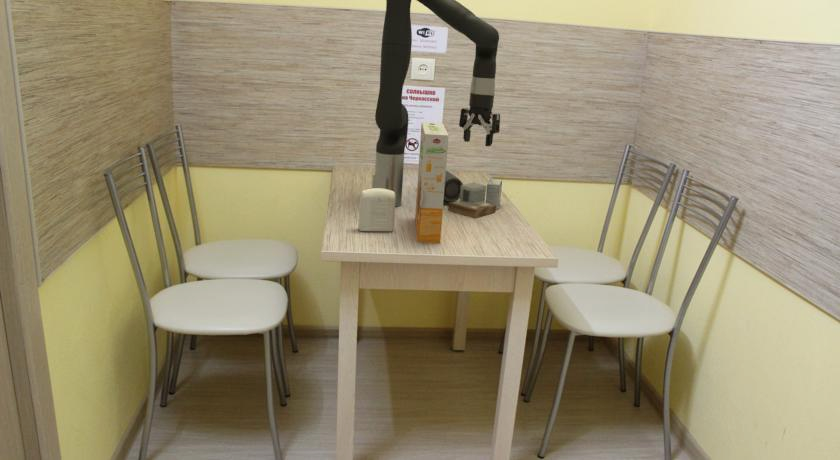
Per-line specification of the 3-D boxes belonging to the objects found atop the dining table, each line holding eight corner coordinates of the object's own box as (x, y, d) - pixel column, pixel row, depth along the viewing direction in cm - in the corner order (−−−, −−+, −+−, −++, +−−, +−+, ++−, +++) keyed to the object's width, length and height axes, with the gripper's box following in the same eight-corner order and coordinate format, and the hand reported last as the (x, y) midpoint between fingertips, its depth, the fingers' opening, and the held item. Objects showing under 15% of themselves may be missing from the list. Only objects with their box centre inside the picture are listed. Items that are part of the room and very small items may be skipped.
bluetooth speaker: (464, 205, 229) (466, 176, 226) (438, 205, 226) (441, 176, 223) (439, 188, 249) (441, 162, 246) (416, 189, 246) (417, 162, 243)
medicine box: (497, 210, 225) (500, 184, 223) (484, 208, 226) (487, 183, 224) (500, 204, 233) (502, 180, 230) (487, 203, 234) (489, 178, 231)
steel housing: (471, 206, 216) (473, 188, 215) (459, 203, 219) (460, 185, 218) (484, 203, 221) (486, 185, 220) (472, 200, 225) (474, 182, 223)
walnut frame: (474, 218, 214) (475, 209, 213) (448, 210, 221) (448, 202, 220) (495, 212, 222) (495, 204, 221) (468, 205, 229) (469, 197, 228)
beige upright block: (392, 227, 198) (394, 186, 194) (395, 232, 194) (397, 190, 190) (357, 228, 195) (359, 186, 192) (359, 232, 191) (361, 190, 188)
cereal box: (415, 219, 208) (421, 122, 200) (435, 220, 209) (442, 123, 200) (417, 241, 187) (425, 134, 178) (440, 243, 187) (448, 135, 178)
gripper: (457, 90, 212) (452, 141, 217) (493, 95, 203) (488, 148, 208) (471, 89, 218) (467, 139, 223) (507, 94, 209) (502, 146, 214)
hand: (477, 143), depth 215 cm, fingers open, 8 cm apart
